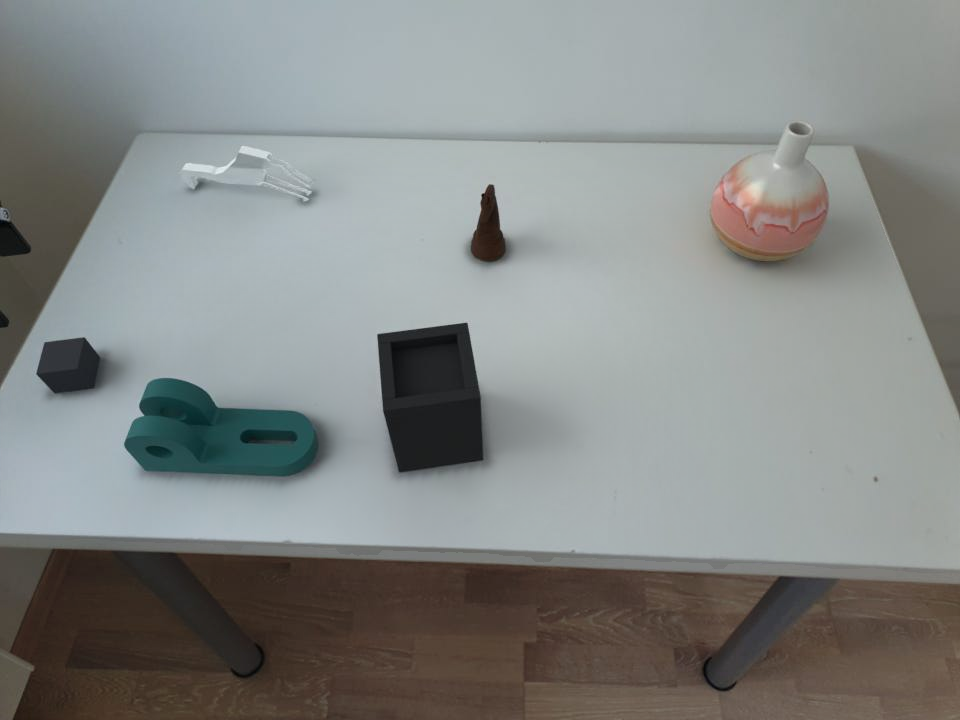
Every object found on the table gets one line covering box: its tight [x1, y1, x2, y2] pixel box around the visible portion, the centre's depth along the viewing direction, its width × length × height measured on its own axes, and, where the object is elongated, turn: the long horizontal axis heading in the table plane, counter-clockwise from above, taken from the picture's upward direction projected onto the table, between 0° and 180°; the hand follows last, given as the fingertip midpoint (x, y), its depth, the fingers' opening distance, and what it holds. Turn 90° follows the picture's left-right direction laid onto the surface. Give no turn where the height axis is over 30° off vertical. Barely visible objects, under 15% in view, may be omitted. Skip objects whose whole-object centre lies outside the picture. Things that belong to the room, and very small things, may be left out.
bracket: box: [123, 377, 319, 477], centre depth 74 cm, size 18×7×8 cm, turn 87°
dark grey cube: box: [35, 336, 101, 394], centre depth 81 cm, size 4×4×4 cm
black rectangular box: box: [376, 322, 484, 473], centre depth 72 cm, size 9×9×12 cm
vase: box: [709, 119, 830, 262], centre depth 86 cm, size 14×14×18 cm
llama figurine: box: [178, 145, 316, 203], centre depth 99 cm, size 2×11×18 cm
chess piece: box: [470, 183, 507, 263], centre depth 89 cm, size 5×5×10 cm
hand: (5, 288), depth 71 cm, fingers open, 9 cm apart
